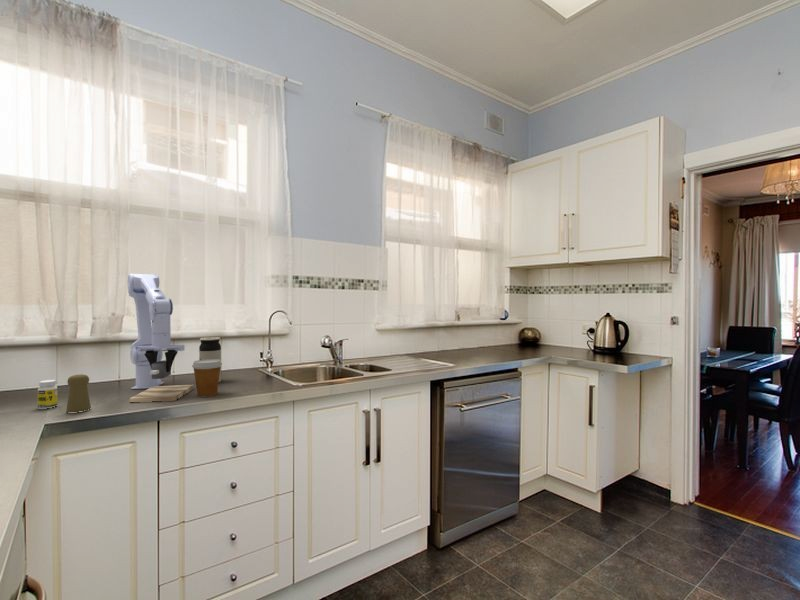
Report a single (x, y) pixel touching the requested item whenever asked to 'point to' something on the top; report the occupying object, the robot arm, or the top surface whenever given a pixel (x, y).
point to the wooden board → (162, 393)
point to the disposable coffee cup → (207, 376)
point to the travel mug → (210, 350)
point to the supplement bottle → (47, 394)
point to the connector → (159, 370)
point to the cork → (78, 393)
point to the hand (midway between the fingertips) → (161, 371)
